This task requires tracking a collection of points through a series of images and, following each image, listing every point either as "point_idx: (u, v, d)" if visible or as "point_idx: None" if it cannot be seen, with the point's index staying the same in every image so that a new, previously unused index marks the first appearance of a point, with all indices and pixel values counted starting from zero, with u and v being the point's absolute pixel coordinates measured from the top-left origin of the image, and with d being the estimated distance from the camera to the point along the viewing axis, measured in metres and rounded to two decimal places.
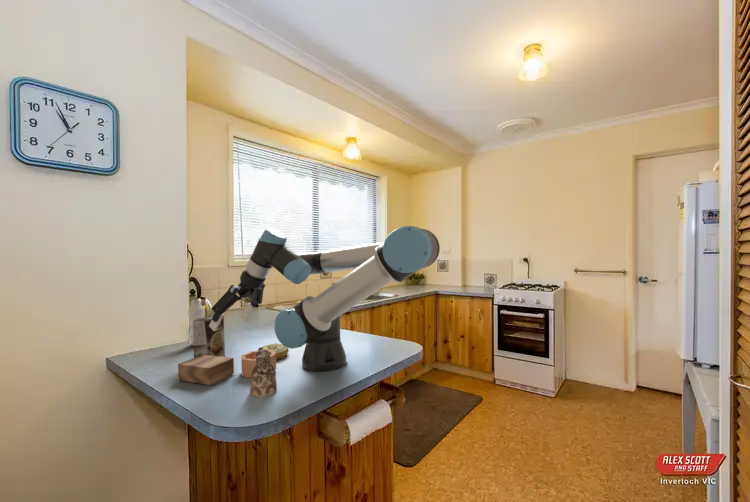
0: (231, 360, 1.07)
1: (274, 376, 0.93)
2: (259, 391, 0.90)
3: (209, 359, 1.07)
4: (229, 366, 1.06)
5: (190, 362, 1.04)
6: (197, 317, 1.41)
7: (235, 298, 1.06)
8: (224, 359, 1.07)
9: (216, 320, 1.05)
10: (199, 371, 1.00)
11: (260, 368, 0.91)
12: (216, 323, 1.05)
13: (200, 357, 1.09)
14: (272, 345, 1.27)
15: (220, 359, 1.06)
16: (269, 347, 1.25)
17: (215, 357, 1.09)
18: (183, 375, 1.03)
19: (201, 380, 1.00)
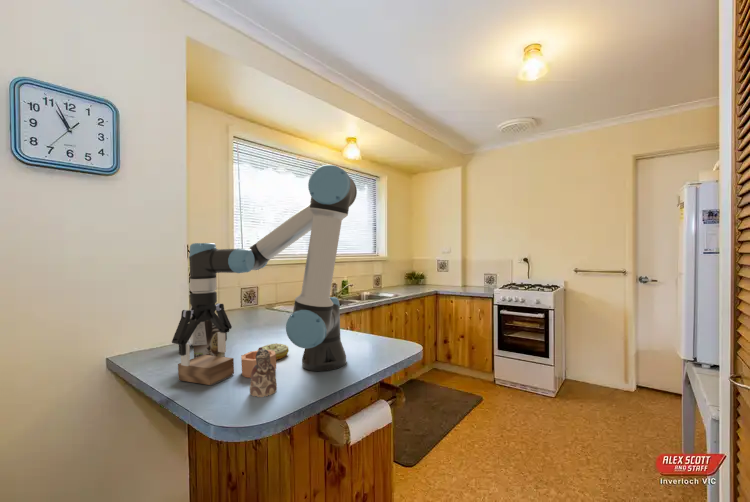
0: (231, 360, 1.07)
1: (274, 376, 0.93)
2: (260, 391, 0.90)
3: (209, 359, 1.07)
4: (229, 366, 1.06)
5: (190, 362, 1.04)
6: None
7: (193, 323, 1.01)
8: (224, 359, 1.07)
9: (184, 353, 0.98)
10: (199, 371, 1.00)
11: (260, 368, 0.91)
12: (186, 356, 0.99)
13: (200, 357, 1.09)
14: (272, 345, 1.27)
15: (220, 359, 1.06)
16: (269, 347, 1.25)
17: (215, 357, 1.09)
18: (183, 375, 1.03)
19: (201, 380, 1.00)
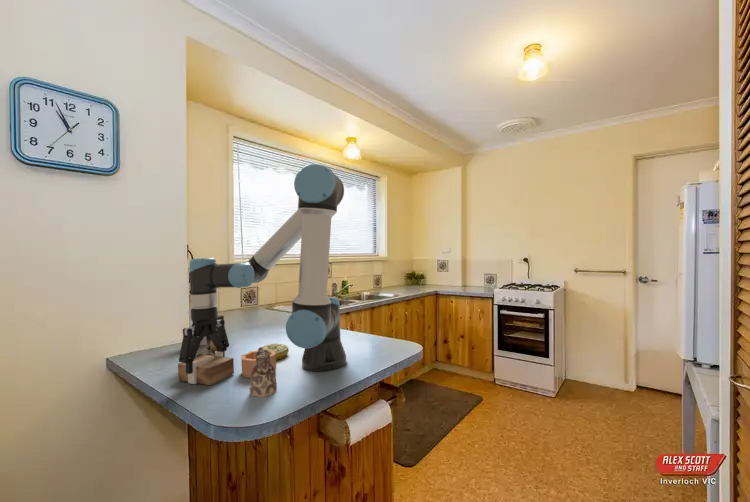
0: (231, 360, 1.07)
1: (274, 376, 0.93)
2: (259, 391, 0.90)
3: (209, 359, 1.07)
4: (229, 366, 1.06)
5: None
6: None
7: (196, 340, 1.02)
8: (224, 359, 1.07)
9: (191, 371, 1.00)
10: (199, 371, 1.00)
11: (260, 368, 0.91)
12: (193, 374, 1.00)
13: (200, 357, 1.09)
14: (272, 345, 1.27)
15: (220, 359, 1.06)
16: (269, 347, 1.25)
17: (215, 357, 1.09)
18: (183, 375, 1.03)
19: (201, 380, 1.00)
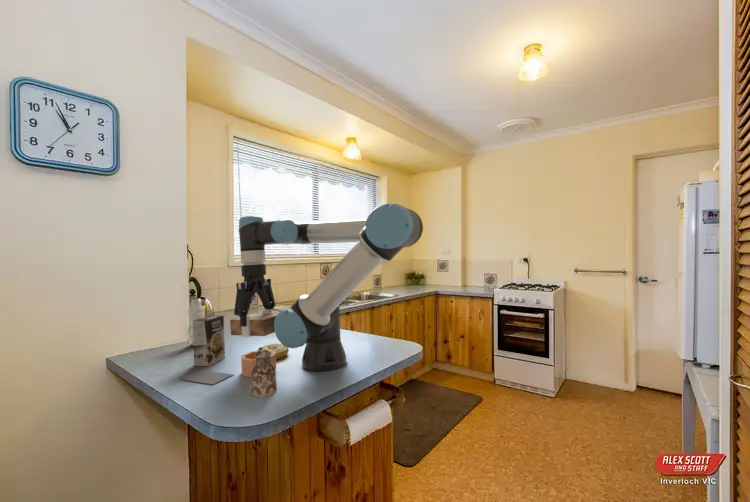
0: None
1: (274, 376, 0.93)
2: (259, 391, 0.90)
3: (259, 315, 1.10)
4: None
5: None
6: (197, 317, 1.41)
7: (249, 295, 1.05)
8: (274, 314, 1.10)
9: (245, 324, 1.03)
10: (253, 323, 1.03)
11: (260, 368, 0.91)
12: (247, 327, 1.03)
13: None
14: (272, 345, 1.27)
15: (270, 315, 1.09)
16: (269, 347, 1.25)
17: (263, 314, 1.12)
18: (236, 329, 1.06)
19: (255, 332, 1.03)
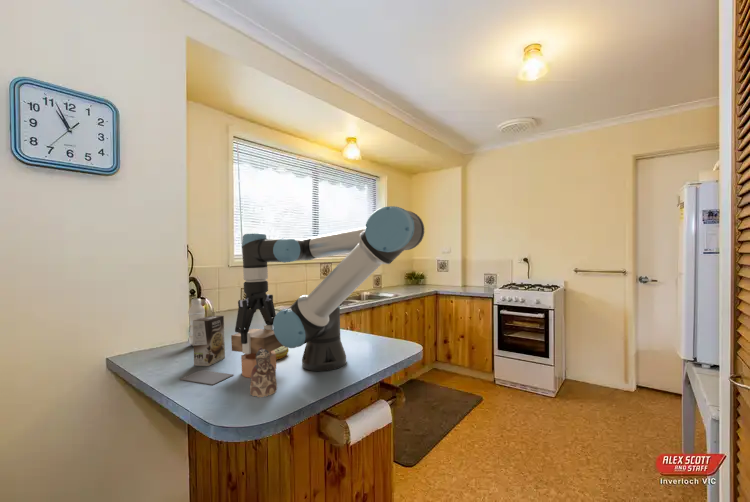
0: None
1: (274, 376, 0.93)
2: (260, 391, 0.90)
3: (260, 332, 1.10)
4: None
5: None
6: (197, 317, 1.41)
7: (250, 312, 1.05)
8: None
9: (246, 341, 1.03)
10: (253, 341, 1.04)
11: (260, 368, 0.91)
12: (247, 345, 1.04)
13: (250, 330, 1.13)
14: None
15: (271, 332, 1.10)
16: None
17: (265, 330, 1.12)
18: (236, 345, 1.06)
19: (256, 350, 1.03)
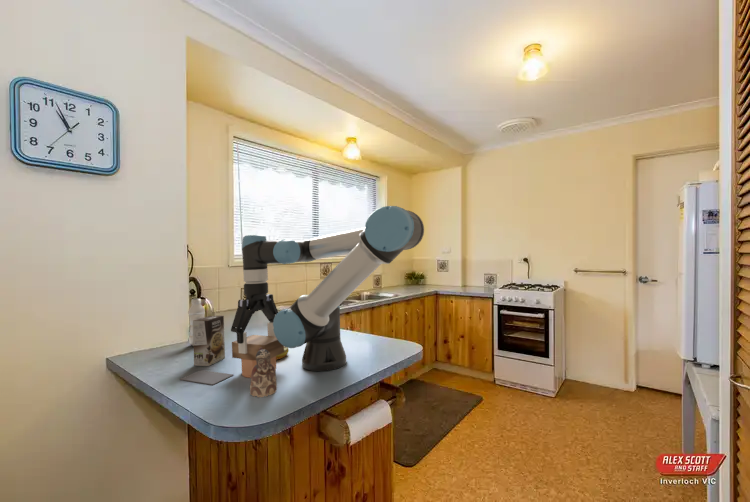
0: None
1: (274, 376, 0.93)
2: (260, 391, 0.90)
3: (260, 338, 1.10)
4: (280, 345, 1.09)
5: None
6: (197, 317, 1.41)
7: (249, 312, 1.05)
8: (275, 338, 1.10)
9: (242, 341, 1.02)
10: (254, 348, 1.04)
11: (260, 368, 0.91)
12: (243, 344, 1.02)
13: (250, 337, 1.13)
14: None
15: (271, 338, 1.10)
16: None
17: (265, 336, 1.12)
18: (237, 352, 1.06)
19: None
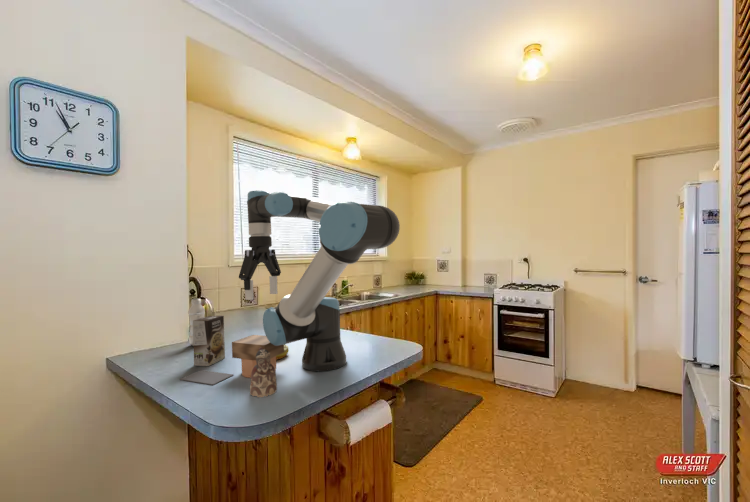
0: None
1: (274, 376, 0.93)
2: (260, 391, 0.90)
3: (260, 338, 1.10)
4: (280, 345, 1.09)
5: (243, 341, 1.08)
6: (197, 317, 1.41)
7: (254, 262, 1.12)
8: None
9: (249, 287, 1.08)
10: (254, 348, 1.04)
11: (260, 368, 0.91)
12: (250, 291, 1.09)
13: (250, 337, 1.13)
14: None
15: None
16: None
17: (265, 336, 1.12)
18: (237, 352, 1.06)
19: None
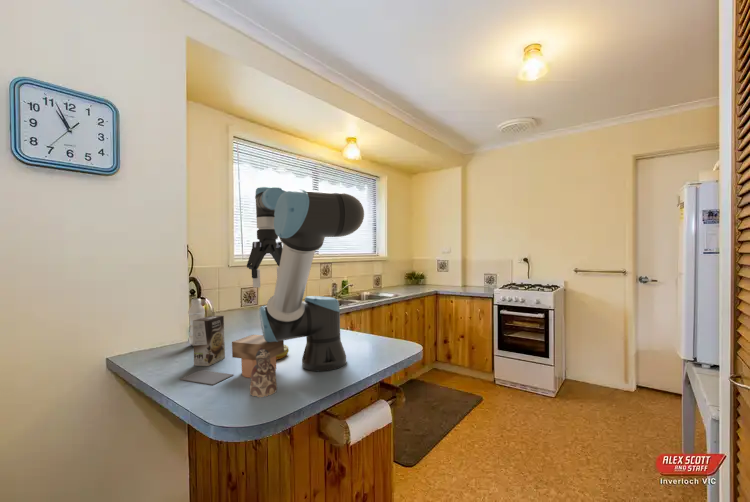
0: None
1: (274, 376, 0.93)
2: (260, 391, 0.90)
3: (260, 338, 1.10)
4: (280, 344, 1.10)
5: (243, 340, 1.08)
6: (197, 317, 1.41)
7: (261, 253, 1.21)
8: None
9: (256, 276, 1.18)
10: (254, 348, 1.04)
11: (260, 368, 0.91)
12: (257, 279, 1.18)
13: (250, 336, 1.13)
14: None
15: None
16: None
17: None
18: (237, 352, 1.07)
19: None
